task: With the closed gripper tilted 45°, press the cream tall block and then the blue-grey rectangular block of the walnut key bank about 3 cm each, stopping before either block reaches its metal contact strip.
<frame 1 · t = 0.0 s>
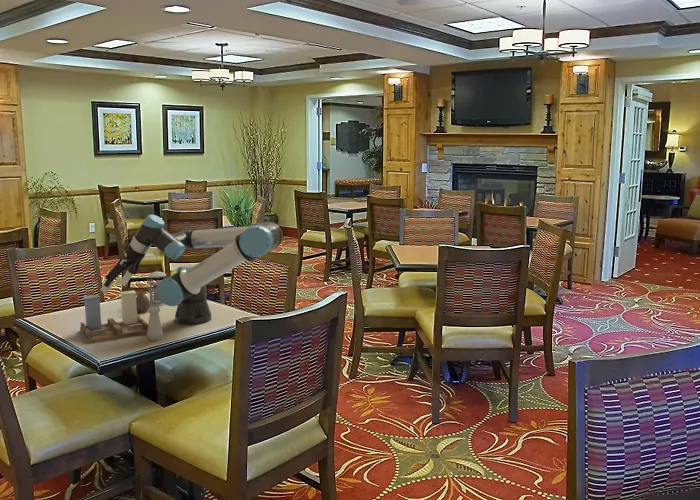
hand: (113, 288, 258), 15 cm above the table, tool tilted 35°, fingers open, 13 cm apart
key bank: (115, 332, 249), on the table
salt shaker: (155, 339, 241), on the table
french press: (157, 303, 294), on the table
vase: (142, 312, 279), on the table
blue-grey rectangular block: (92, 312, 248), point 8 cm above the table, slide at 0.0 cm
cream tall block: (129, 307, 256), point 8 cm above the table, slide at 0.0 cm
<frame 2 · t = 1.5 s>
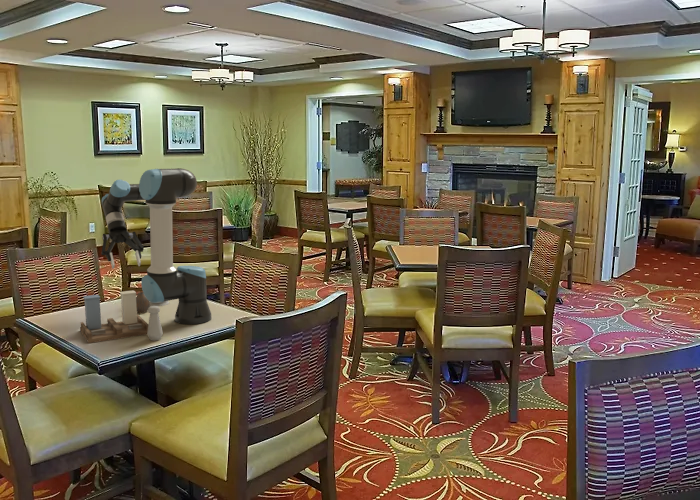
hand: (126, 265, 266), 23 cm above the table, tool tilted 45°, fingers open, 10 cm apart
nothing on the table moved.
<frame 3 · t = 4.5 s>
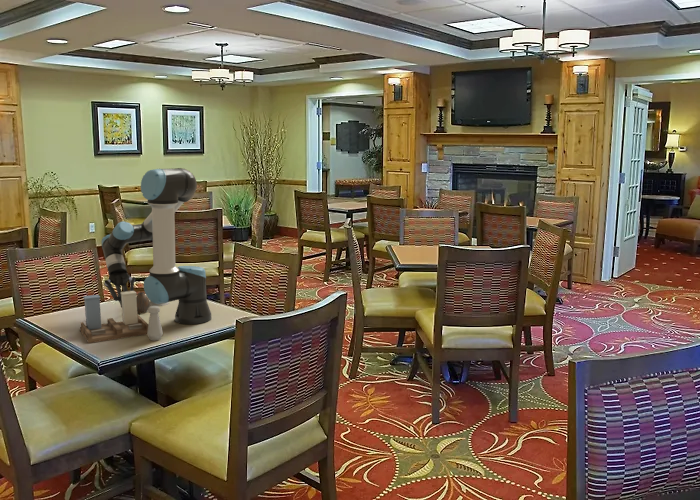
hand: (127, 313, 258), 5 cm above the table, tool tilted 45°, fingers closed
cream tall block: (129, 307, 255), point 8 cm above the table, slide at 0.6 cm, touching gripper
everything else where it was.
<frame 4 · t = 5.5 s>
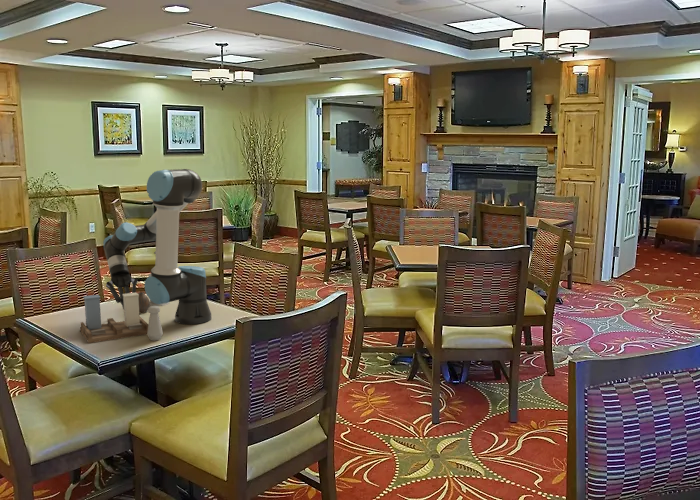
hand: (129, 315, 255), 5 cm above the table, tool tilted 45°, fingers closed
cream tall block: (131, 309, 252), point 8 cm above the table, slide at 4.1 cm, touching gripper
everything else where it was.
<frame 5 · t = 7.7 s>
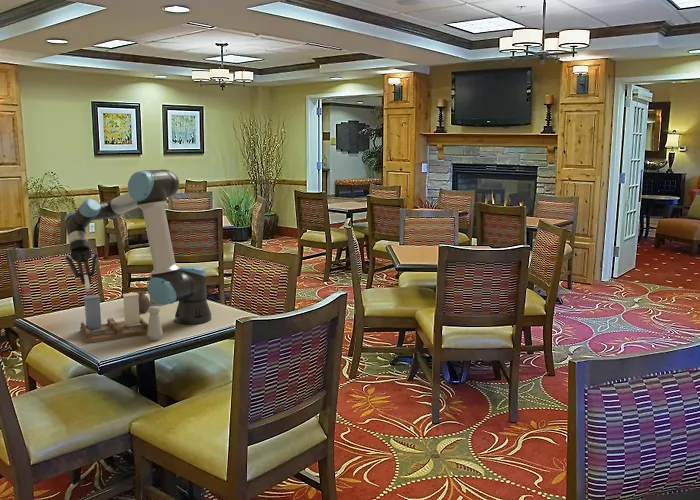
hand: (88, 289, 257), 15 cm above the table, tool tilted 45°, fingers closed
cream tall block: (131, 309, 252), point 8 cm above the table, slide at 4.1 cm
everything else where it was.
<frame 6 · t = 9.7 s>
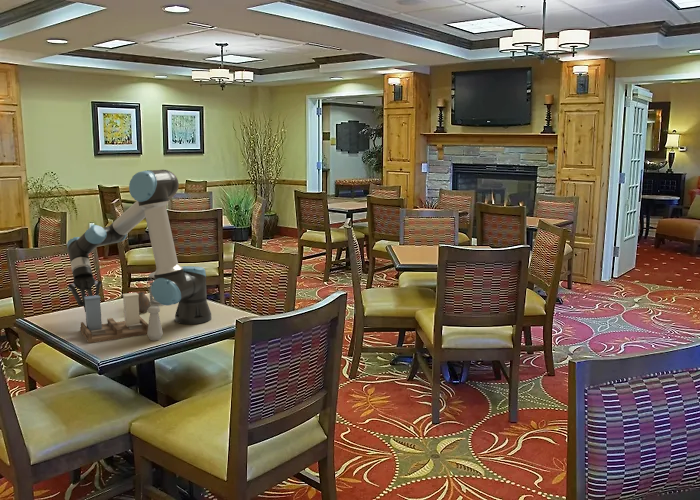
hand: (91, 318, 251), 5 cm above the table, tool tilted 45°, fingers closed
blue-grey rectangular block: (93, 312, 248), point 8 cm above the table, slide at 0.9 cm, touching gripper
everything else where it was.
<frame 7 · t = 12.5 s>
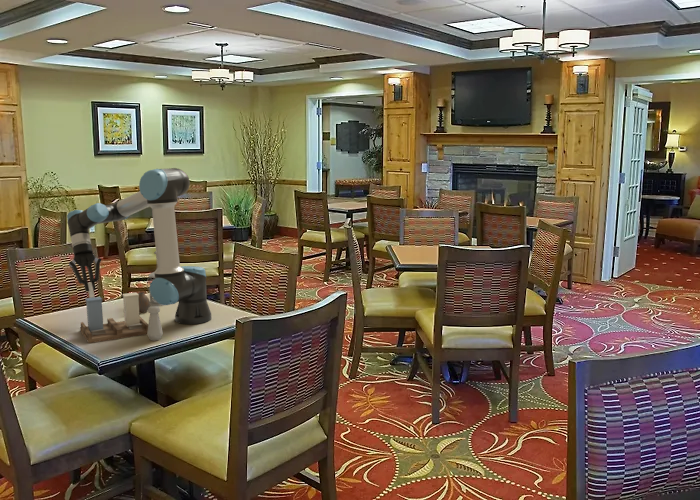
hand: (92, 298, 258), 11 cm above the table, tool tilted 30°, fingers closed
blue-grey rectangular block: (94, 314, 245), point 8 cm above the table, slide at 4.1 cm
everything else where it was.
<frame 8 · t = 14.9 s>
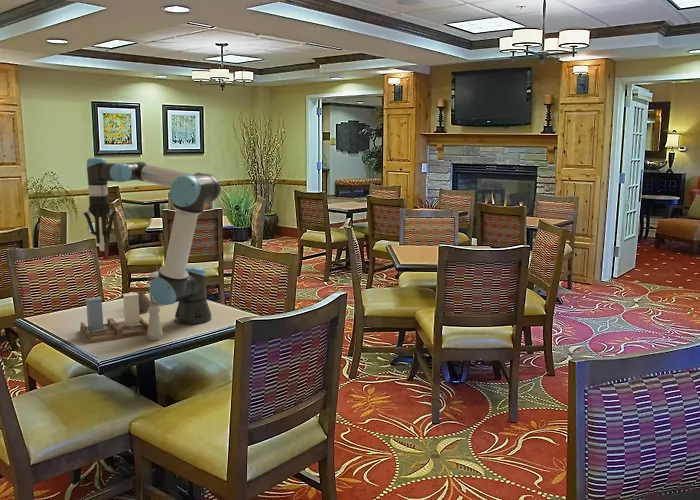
hand: (102, 250, 265), 29 cm above the table, tool pointing down, fingers closed
nothing on the table moved.
at the end: cream tall block slide at 4.1 cm; blue-grey rectangular block slide at 4.1 cm; salt shaker moved 0.2 cm from its start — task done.
